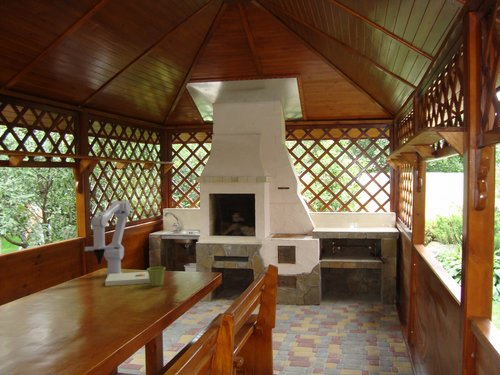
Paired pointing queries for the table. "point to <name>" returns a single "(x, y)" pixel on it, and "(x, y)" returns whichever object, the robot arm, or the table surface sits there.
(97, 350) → the table surface
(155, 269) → the plant pot
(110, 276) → the deck
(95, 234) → the robot arm
